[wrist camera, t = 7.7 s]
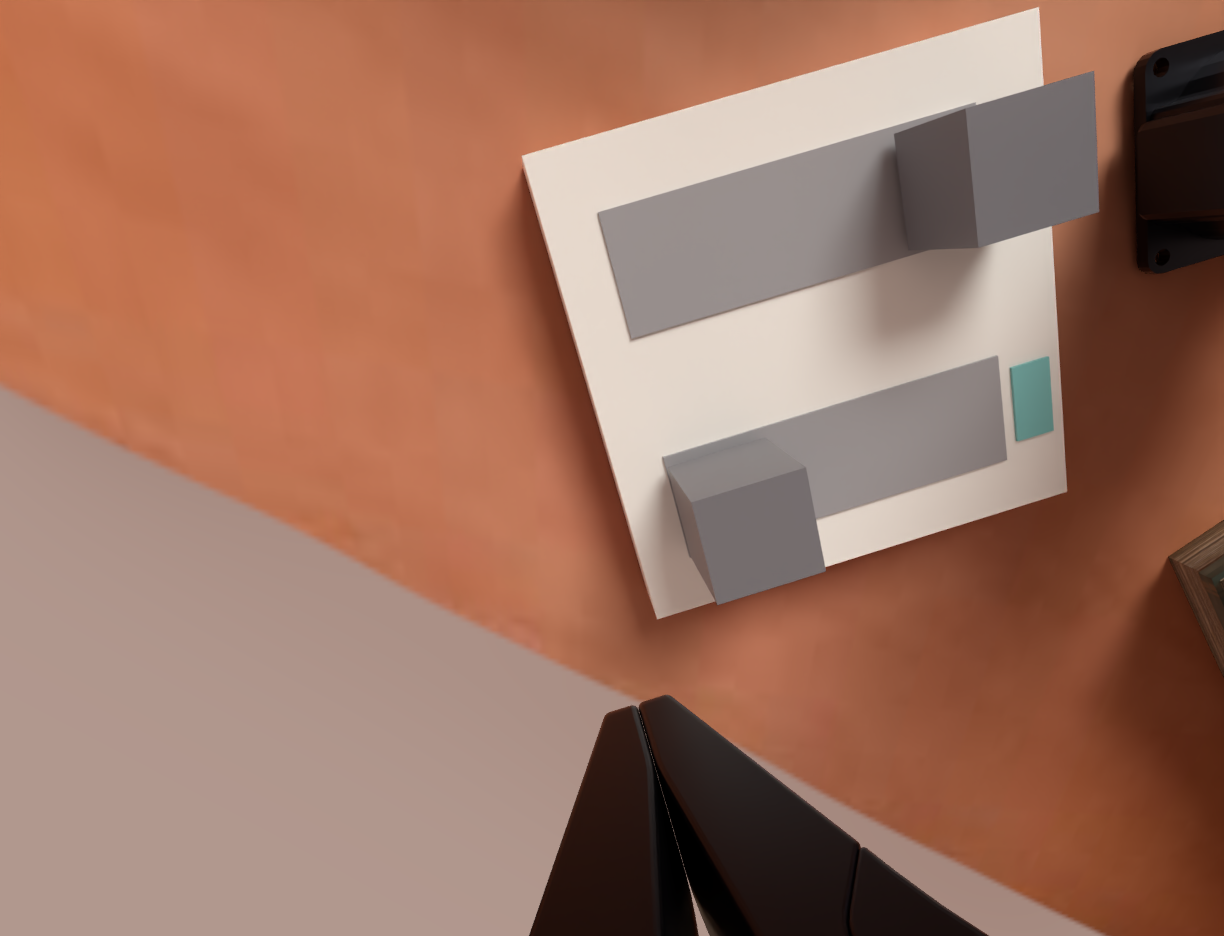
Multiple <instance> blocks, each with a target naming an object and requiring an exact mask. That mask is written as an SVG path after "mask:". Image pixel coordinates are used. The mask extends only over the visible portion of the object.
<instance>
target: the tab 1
mask: <svg viewBox="0 0 1224 936" xmlns="http://www.w3.org/2000/svg"><path fill="white" fill-rule="evenodd" d="M667 468H668V472H669V476H670V480H671V484H672V487H673V491H674V495H675V499H676V503H677V506H678V510H679V514H680V518H681V521H682V525H683V529H684V533H685V537H686V540H687V544H688V548H689V552H690V555H691V558H692V560H693V562H694V564H695V565H696V567H697V569H698V571H699V573H700V574H701V576H702V578H703V580H704V582H705V583H706V585H707V587H708V589H709V591H710V593H711V594H712V596H713V598H714V600H715V602H716V603H717V605H720V604H723V603H726V602H729V601H732V600H736V599H739V598H742V597H745V596H748V595H752V594H755V593H758V592H761V591H764V590H768V589H771V588H774V587H777V586H781V585H784V584H787V583H790V582H793V581H797V580H800V579H803V578H806V577H809V576H813V575H816V574H819V573H822V572H825V571H826V568H825V563H824V558H823V553H822V548H821V542H820V537H819V532H818V527H817V522H816V517H815V511H814V506H813V501H812V496H811V491H810V485H809V480H808V475H807V470H806V467H805V466H804V465H802V464H801V463H800V462H798V461H797V460H795V459H794V458H793V457H791V456H790V455H789V454H787V453H786V452H785V451H783V450H782V449H780V448H779V447H778V446H776V445H775V444H774V443H772V442H771V441H770V440H768V439H767V438H762V439H758V440H755V441H752V442H749V443H745V444H742V445H739V446H735V447H732V448H729V449H726V450H722V451H719V452H716V453H712V454H709V455H706V456H703V457H699V458H696V459H693V460H689V461H686V462H683V463H680V464H676V465H673V466H670V467H667Z"/></svg>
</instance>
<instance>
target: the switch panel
mask: <svg viewBox="0 0 1224 936" xmlns="http://www.w3.org/2000/svg"><path fill="white" fill-rule="evenodd" d="M1040 86H1044V85H1043V68H1042V51H1041V34H1040V17H1039V7H1037V8H1033V9H1030V10H1027V11H1023V12H1020V13H1016V14H1013V15H1009V16H1006V17H1002V18H999V19H995V20H992V21H988V22H985V23H981V24H978V25H974V26H971V27H967V28H964V29H960V30H957V31H954V32H950V33H947V34H943V35H940V36H936V37H933V38H929V39H926V40H922V41H919V42H915V43H912V44H908V45H905V46H901V47H898V48H894V49H891V50H888V51H884V52H881V53H877V54H874V55H870V56H867V57H863V58H860V59H856V60H853V61H849V62H846V63H842V64H839V65H835V66H832V67H828V68H825V69H821V70H818V71H815V72H811V73H808V74H804V75H801V76H797V77H794V78H790V79H787V80H783V81H780V82H776V83H773V84H769V85H766V86H762V87H759V88H755V89H752V90H749V91H745V92H742V93H738V94H735V95H731V96H728V97H724V98H721V99H717V100H714V101H710V102H707V103H703V104H700V105H696V106H693V107H689V108H686V109H683V110H679V111H676V112H672V113H669V114H665V115H662V116H658V117H655V118H651V119H648V120H644V121H641V122H637V123H634V124H630V125H627V126H623V127H620V128H616V129H613V130H610V131H606V132H603V133H599V134H596V135H592V136H589V137H585V138H582V139H578V140H575V141H571V142H568V143H564V144H561V145H557V146H554V147H550V148H547V149H544V150H540V151H537V152H533V153H530V154H526V155H523V156H522V167H523V170H524V174H525V177H526V180H527V184H528V187H529V191H530V194H531V198H532V201H533V204H534V208H535V211H536V215H537V218H538V221H539V225H540V228H541V232H542V235H543V238H544V242H545V245H546V249H547V252H548V255H549V259H550V262H551V266H552V269H553V272H554V276H555V279H556V283H557V286H558V289H559V293H560V296H561V300H562V303H563V307H564V310H565V313H566V317H567V320H568V324H569V327H570V330H571V334H572V337H573V341H574V344H575V347H576V351H577V354H578V358H579V361H580V364H581V368H582V371H583V375H584V378H585V381H586V385H587V388H588V392H589V395H590V398H591V402H592V405H593V409H594V412H595V416H596V419H597V422H598V426H599V429H600V433H601V436H602V439H603V443H604V446H605V450H606V453H607V456H608V460H609V463H610V467H611V470H612V473H613V477H614V480H615V484H616V487H617V490H618V494H619V497H620V501H621V504H622V507H623V511H624V514H625V518H626V521H627V525H628V528H629V531H630V535H631V538H632V542H633V545H634V548H635V552H636V555H637V559H638V562H639V565H640V569H641V572H642V576H643V579H644V582H645V586H646V589H647V592H648V595H649V598H650V601H651V603H652V606H653V609H654V612H655V614H656V617H657V619H661V618H664V617H667V616H670V615H673V614H677V613H680V612H683V611H686V610H689V609H693V608H696V607H699V606H702V605H705V604H709V603H712V602H715V600H714V598H713V596H712V594H711V593H710V591H709V589H708V587H707V585H706V583H705V582H704V580H703V578H702V576H701V574H700V573H699V571H698V569H697V567H696V565H695V564H694V562H693V560H692V558H691V555H690V552H689V548H688V544H687V540H686V537H685V533H684V529H683V525H682V521H681V518H680V514H679V510H678V506H677V503H676V499H675V495H674V491H673V487H672V484H671V480H670V476H669V472H668V468H667V467H670V466H673V465H676V464H680V463H683V462H686V461H689V460H693V459H696V458H699V457H703V456H706V455H709V454H712V453H716V452H719V451H722V450H726V449H729V448H732V447H735V446H739V445H742V444H745V443H749V442H752V441H755V440H758V439H762V438H767V439H768V440H770V441H771V442H772V443H774V444H775V445H776V446H778V447H779V448H780V449H782V450H783V451H785V452H786V453H787V454H789V455H790V456H791V457H793V458H794V459H795V460H797V461H798V462H800V463H801V464H802V465H804V466H805V467H806V470H807V475H808V480H809V485H810V491H811V496H812V501H813V506H814V511H815V517H816V522H817V527H818V532H819V537H820V542H821V548H822V553H823V558H824V563H825V567H827V566H831V565H834V564H837V563H840V562H843V561H847V560H850V559H853V558H856V557H859V556H863V555H866V554H869V553H872V552H875V551H879V550H882V549H885V548H888V547H891V546H895V545H898V544H901V543H904V542H908V541H911V540H914V539H917V538H920V537H924V536H927V535H930V534H933V533H936V532H940V531H943V530H946V529H949V528H952V527H956V526H959V525H962V524H965V523H968V522H972V521H975V520H978V519H981V518H984V517H988V516H991V515H994V514H997V513H1001V512H1004V511H1007V510H1010V509H1013V508H1017V507H1020V506H1023V505H1026V504H1029V503H1033V502H1036V501H1039V500H1042V499H1045V498H1049V497H1052V496H1055V495H1058V494H1061V493H1065V492H1067V479H1066V462H1065V445H1064V428H1063V411H1062V394H1061V376H1060V359H1059V342H1058V325H1057V308H1056V291H1055V274H1054V257H1053V239H1052V226H1050V227H1047V228H1044V229H1040V230H1037V231H1034V232H1030V233H1027V234H1024V235H1020V236H1017V237H1014V238H1010V239H1007V240H1004V241H1000V242H997V243H994V244H990V245H987V246H984V247H980V248H964V249H936V250H909V251H908V243H907V235H906V227H905V219H904V211H903V203H902V195H901V187H900V179H899V171H898V163H897V155H896V147H895V139H894V134H895V133H898V132H901V131H903V130H906V129H909V128H912V127H915V126H917V125H920V124H923V123H926V122H929V121H931V120H934V119H937V118H940V117H943V116H945V115H948V114H951V113H954V112H957V111H959V110H962V109H965V108H968V107H972V106H975V105H979V104H982V103H985V102H989V101H992V100H996V99H999V98H1003V97H1006V96H1009V95H1013V94H1016V93H1020V92H1023V91H1027V90H1030V89H1033V88H1037V87H1040Z"/></svg>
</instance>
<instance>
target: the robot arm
mask: <svg viewBox="0 0 1224 936" xmlns="http://www.w3.org/2000/svg"><path fill="white" fill-rule="evenodd" d="M1154 64H1156V66H1157V72H1156V75H1154V72H1153V67H1154ZM1133 79H1134V130H1135V182H1136V233H1137V264H1138V268H1139V269H1140V270H1141V272H1144V273H1149V274H1158V273H1165V272H1168V271H1171V270H1175V269H1178V268H1181V267H1185V266H1188V265H1191V264H1195V263H1198V262H1201V261H1204V260H1208V259H1211V258H1214V257H1218V256H1221V255H1224V30H1223V31H1220V32H1216V33H1213V34H1209V35H1206V36H1202V37H1199V38H1196V39H1192V40H1189V41H1185V42H1182V43H1178V44H1175V45H1172V46H1168V47H1165V48H1161V49H1158V50H1155V51H1152V52H1149V53H1147V54H1145V55H1144V56H1142V57H1141V58H1140V60H1139V61H1138V62H1137V64H1136V66H1135V68H1134V75H1133ZM1157 253H1158V254H1159V257H1158V260H1157V262H1156V261H1155V257H1156V255H1157ZM639 712H640V713H639ZM640 715H641V717H640ZM641 719H642V720H641ZM642 722H643V724H642ZM643 726H644V727H643ZM644 729H645V731H644ZM645 733H646V734H645ZM646 736H647V738H646ZM647 740H648V741H647ZM648 743H649V744H648ZM649 747H650V748H649ZM650 750H651V751H650ZM651 754H652V755H651ZM652 757H653V758H652ZM653 761H654V762H653ZM654 764H655V765H654ZM655 767H656V769H655ZM656 771H657V772H656ZM657 774H658V776H657ZM658 778H659V779H658ZM659 781H660V782H659ZM660 785H661V786H660ZM661 788H662V789H661ZM662 792H663V793H662ZM663 795H664V796H663ZM664 799H665V800H664ZM665 802H666V803H665ZM666 805H667V807H666ZM667 809H668V810H667ZM668 812H669V814H668ZM669 816H670V817H669ZM670 819H671V821H670ZM671 823H672V824H671ZM672 826H673V828H672ZM673 830H674V831H673ZM674 833H675V835H674ZM675 836H676V838H675ZM676 840H677V841H676ZM677 843H678V845H677ZM678 847H679V848H678ZM679 850H680V852H679ZM680 854H681V855H680ZM681 857H682V859H681ZM682 861H683V862H682ZM683 864H684V866H683ZM684 867H685V869H684ZM685 871H686V873H685ZM686 874H687V877H688V880H689V883H690V886H691V890H692V893H693V895H694V898H695V900H696V903H697V906H698V908H699V911H700V913H701V916H702V918H703V921H704V923H705V925H706V928H707V930H708V933H709V935H710V936H988V935H987V934H985V933H984V932H982V931H981V930H979V929H978V928H976V927H975V926H973V925H972V924H970V923H969V922H967V921H965V920H964V919H962V918H961V917H959V916H958V915H956V914H955V913H953V912H952V911H950V910H949V909H947V908H946V907H944V906H942V905H941V904H940V903H939V902H937V901H936V900H934V899H933V898H932V897H930V896H929V895H927V894H926V893H925V892H924V891H922V890H921V889H919V888H918V887H917V886H915V885H914V884H913V883H911V882H910V881H909V880H907V879H906V878H904V877H903V876H902V875H900V874H899V873H898V872H896V871H895V870H894V869H892V868H891V867H890V866H889V865H887V864H886V863H885V862H883V861H882V860H881V859H880V858H878V857H877V856H876V855H875V854H873V853H872V852H871V851H869V850H868V849H867V848H865V847H863V848H861V847H860V844H859V843H858V842H857V841H856V840H855V839H854V838H852V837H851V836H850V835H848V834H847V833H846V832H845V831H843V830H842V829H841V828H840V827H838V826H837V825H835V824H834V823H833V822H832V821H831V820H829V819H828V818H827V817H825V816H824V815H823V814H821V813H820V812H819V811H818V810H816V809H815V808H814V807H813V806H811V805H810V804H809V803H807V802H806V801H805V800H803V799H802V798H801V797H800V796H798V795H797V794H796V793H795V792H793V791H792V790H791V789H789V788H788V787H787V786H786V785H784V784H783V783H782V782H781V781H779V780H778V779H776V778H775V777H774V776H773V775H771V774H770V773H769V772H768V771H766V770H765V769H764V768H762V767H761V766H760V765H759V764H757V763H756V762H755V761H754V760H752V759H751V758H750V757H748V756H747V755H746V754H744V753H743V752H742V751H741V750H739V749H738V748H737V747H736V746H734V745H733V744H732V743H730V742H729V741H728V740H727V739H725V738H724V737H723V736H721V735H720V734H719V733H718V732H716V731H715V730H714V729H713V728H711V727H710V726H709V725H707V724H706V723H705V722H704V721H702V720H701V719H700V718H698V717H697V716H696V715H695V714H693V713H692V712H691V711H689V710H688V709H687V708H686V707H684V706H683V705H682V704H680V703H679V702H678V701H677V700H675V699H674V698H673V697H671V696H669V695H663V696H660V697H657V698H654V699H650V700H647V701H644V702H642V703H641V704H640V705H639V710H638V708H637V707H636V706H628V707H625V708H622V709H618V710H615V711H612V712H609V713H607V714H606V715H605V717H604V719H603V722H602V725H601V728H600V731H599V734H598V737H597V740H596V742H595V745H594V748H593V751H592V754H591V757H590V760H589V763H588V766H587V769H586V772H585V775H584V777H583V781H582V783H581V786H580V789H579V792H578V795H577V798H576V801H575V804H574V806H573V809H572V812H571V816H570V818H569V821H568V824H567V827H566V830H565V833H564V836H563V839H562V841H561V844H560V847H559V850H558V853H557V856H556V859H555V862H554V865H553V868H552V871H551V873H550V876H549V879H548V882H547V885H546V888H545V891H544V894H543V897H542V900H541V903H540V905H539V908H538V911H537V914H536V917H535V920H534V923H533V926H532V929H531V932H530V935H529V936H699V935H698V929H697V923H696V917H695V912H694V908H693V902H692V897H691V892H690V889H689V885H688V881H687V877H686Z"/></svg>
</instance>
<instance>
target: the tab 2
mask: <svg viewBox="0 0 1224 936" xmlns="http://www.w3.org/2000/svg"><path fill="white" fill-rule="evenodd" d="M894 139H895V147H896V155H897V163H898V171H899V179H900V187H901V195H902V203H903V211H904V219H905V227H906V235H907V243H908V251H909V250H936V249H964V248H980V247H984V246H987V245H990V244H994V243H997V242H1000V241H1004V240H1007V239H1010V238H1014V237H1017V236H1020V235H1024V234H1027V233H1030V232H1034V231H1037V230H1040V229H1044V228H1047V227H1050V226H1054V225H1057V224H1061V223H1064V222H1067V221H1071V220H1074V219H1077V218H1081V217H1084V216H1087V215H1091V214H1094V213H1097V212H1099V191H1098V164H1097V136H1096V108H1095V81H1094V71H1092V72H1088V73H1085V74H1081V75H1078V76H1075V77H1071V78H1068V79H1064V80H1061V81H1057V82H1054V83H1051V84H1047V85H1044V86H1040V87H1037V88H1033V89H1030V90H1027V91H1023V92H1020V93H1016V94H1013V95H1009V96H1006V97H1003V98H999V99H996V100H992V101H989V102H985V103H982V104H979V105H975V106H972V107H968V108H965V109H962V110H959V111H957V112H954V113H951V114H948V115H945V116H943V117H940V118H937V119H934V120H931V121H929V122H926V123H923V124H920V125H917V126H915V127H912V128H909V129H906V130H903V131H901V132H898V133H895V134H894Z"/></svg>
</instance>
